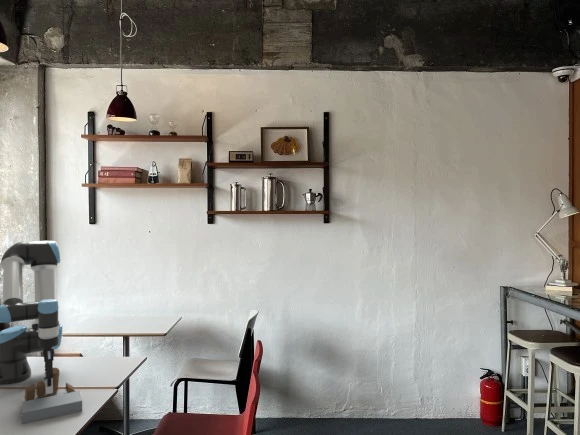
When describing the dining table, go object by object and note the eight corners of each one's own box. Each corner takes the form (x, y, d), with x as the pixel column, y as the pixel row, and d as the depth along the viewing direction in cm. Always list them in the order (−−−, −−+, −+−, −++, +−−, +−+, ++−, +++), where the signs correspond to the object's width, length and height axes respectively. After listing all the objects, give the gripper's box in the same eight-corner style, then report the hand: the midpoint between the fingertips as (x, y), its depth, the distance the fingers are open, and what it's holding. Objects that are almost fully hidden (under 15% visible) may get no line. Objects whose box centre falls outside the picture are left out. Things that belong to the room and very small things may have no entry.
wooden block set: (27, 409, 176) (28, 389, 173) (22, 394, 182) (23, 375, 178) (74, 394, 188) (76, 375, 185) (68, 381, 194) (70, 362, 191)
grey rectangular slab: (22, 412, 169) (22, 401, 169) (79, 400, 179) (79, 390, 179) (21, 423, 159) (21, 412, 159) (82, 410, 170) (82, 400, 170)
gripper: (37, 331, 192) (38, 383, 192) (38, 344, 174) (39, 400, 175) (57, 329, 196) (57, 379, 196) (59, 341, 178) (60, 396, 178)
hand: (48, 389), depth 185 cm, fingers closed on wooden block set, 8 cm apart
